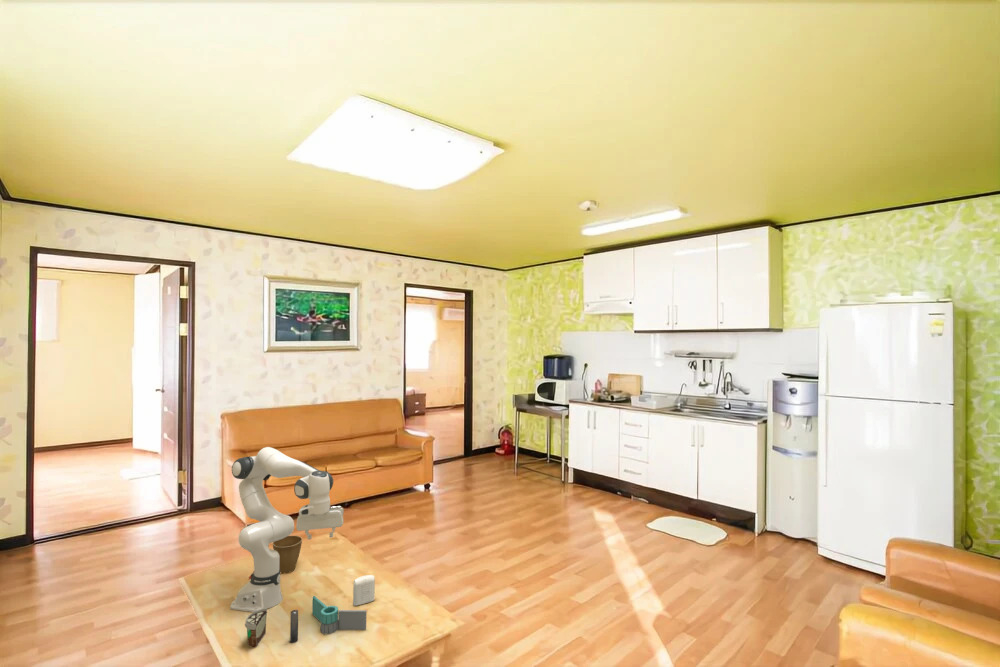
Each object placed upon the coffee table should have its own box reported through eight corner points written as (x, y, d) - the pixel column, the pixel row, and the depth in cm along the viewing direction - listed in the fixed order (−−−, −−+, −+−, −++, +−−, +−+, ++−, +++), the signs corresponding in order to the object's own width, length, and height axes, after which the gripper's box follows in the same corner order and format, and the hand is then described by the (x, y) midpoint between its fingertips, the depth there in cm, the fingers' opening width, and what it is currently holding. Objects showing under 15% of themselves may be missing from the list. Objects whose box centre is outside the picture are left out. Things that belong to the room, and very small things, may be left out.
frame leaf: (318, 634, 206) (318, 615, 206) (324, 624, 213) (324, 606, 213) (363, 634, 206) (363, 615, 206) (368, 624, 213) (368, 606, 213)
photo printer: (372, 597, 236) (373, 571, 236) (375, 601, 233) (376, 575, 233) (351, 603, 231) (352, 577, 231) (354, 607, 227) (354, 581, 227)
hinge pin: (288, 642, 200) (289, 613, 200) (292, 638, 203) (292, 609, 203) (296, 642, 200) (296, 613, 200) (299, 638, 203) (299, 609, 203)
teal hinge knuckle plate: (340, 628, 210) (340, 610, 210) (325, 635, 205) (325, 616, 205) (320, 610, 223) (320, 593, 223) (305, 616, 218) (306, 599, 218)
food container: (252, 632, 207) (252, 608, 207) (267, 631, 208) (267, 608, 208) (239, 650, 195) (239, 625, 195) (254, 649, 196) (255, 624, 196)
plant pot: (266, 571, 261) (267, 542, 262) (292, 561, 274) (292, 533, 274) (282, 579, 253) (282, 549, 253) (307, 568, 265) (307, 539, 265)
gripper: (344, 503, 225) (345, 533, 225) (298, 507, 221) (298, 537, 221) (342, 507, 219) (343, 538, 219) (295, 511, 215) (295, 542, 215)
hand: (320, 537), depth 220 cm, fingers open, 8 cm apart
